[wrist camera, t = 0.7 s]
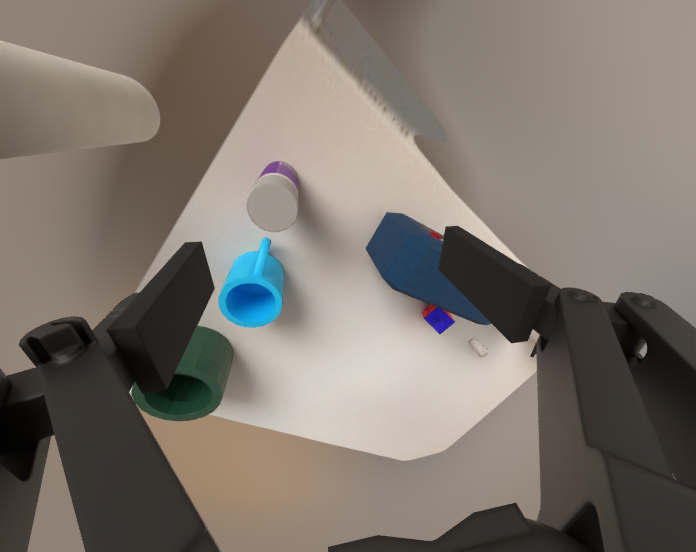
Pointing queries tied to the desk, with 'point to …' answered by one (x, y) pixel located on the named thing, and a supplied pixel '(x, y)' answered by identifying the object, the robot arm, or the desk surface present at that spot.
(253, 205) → the container
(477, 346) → the grey ring
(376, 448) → the desk surface
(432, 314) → the toy building block
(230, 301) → the mug
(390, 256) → the radio
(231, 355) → the jar
